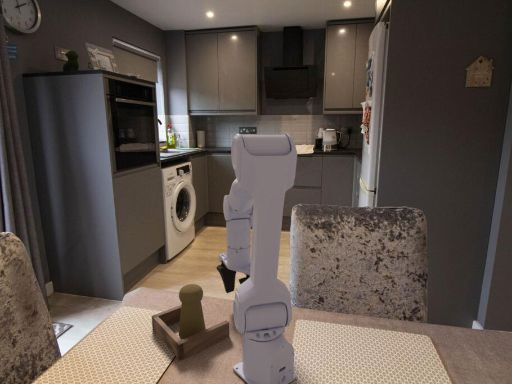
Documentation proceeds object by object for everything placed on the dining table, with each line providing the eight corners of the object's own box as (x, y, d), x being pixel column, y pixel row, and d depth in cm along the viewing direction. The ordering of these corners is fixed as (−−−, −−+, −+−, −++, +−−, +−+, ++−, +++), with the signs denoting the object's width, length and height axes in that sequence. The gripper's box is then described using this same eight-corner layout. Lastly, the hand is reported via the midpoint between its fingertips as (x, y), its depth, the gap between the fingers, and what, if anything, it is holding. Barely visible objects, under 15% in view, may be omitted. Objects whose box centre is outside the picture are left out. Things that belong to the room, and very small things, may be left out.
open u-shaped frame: (229, 336, 74) (229, 322, 73) (179, 360, 66) (178, 344, 65) (199, 311, 83) (198, 298, 83) (152, 329, 76) (151, 315, 75)
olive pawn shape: (208, 325, 78) (207, 281, 75) (202, 341, 72) (200, 294, 70) (183, 323, 78) (181, 279, 76) (174, 339, 72) (172, 293, 70)
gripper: (271, 249, 77) (270, 304, 79) (234, 233, 88) (234, 282, 90) (247, 257, 72) (247, 314, 75) (211, 239, 83) (212, 290, 86)
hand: (238, 297), depth 82 cm, fingers open, 7 cm apart
